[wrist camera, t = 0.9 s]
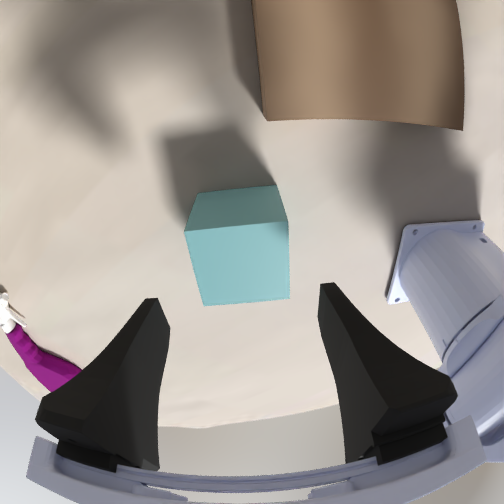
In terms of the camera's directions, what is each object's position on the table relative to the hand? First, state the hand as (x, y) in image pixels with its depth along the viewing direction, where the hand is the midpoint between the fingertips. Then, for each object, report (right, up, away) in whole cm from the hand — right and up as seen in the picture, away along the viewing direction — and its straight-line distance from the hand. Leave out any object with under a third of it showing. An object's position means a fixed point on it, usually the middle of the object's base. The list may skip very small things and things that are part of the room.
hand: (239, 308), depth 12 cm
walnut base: (+7, +16, -1) cm, 17 cm away
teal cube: (0, +4, +7) cm, 8 cm away
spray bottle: (-27, -12, +17) cm, 35 cm away
